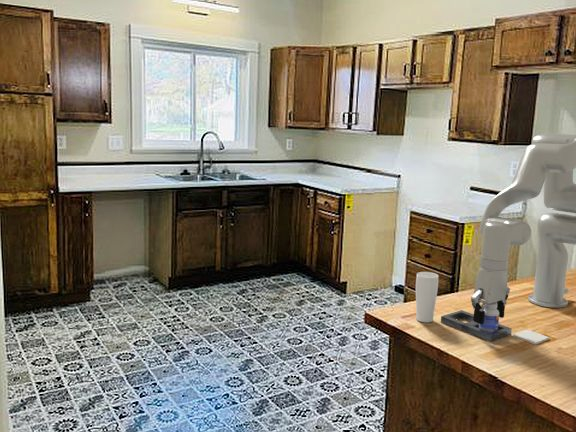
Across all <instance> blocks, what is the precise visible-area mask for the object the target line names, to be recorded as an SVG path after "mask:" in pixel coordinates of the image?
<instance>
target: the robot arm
mask: <svg viewBox="0 0 576 432" xmlns="http://www.w3.org/2000/svg"><path fill="white" fill-rule="evenodd" d="M575 169H576V134H563V133H540V134H537V135H535V136H533V138H532V140H531V144H529V145H527V147H525V150H524V151H523V154H522V156H521V158H520V162H519V163H518V166H517V169H516V172H515V174H514V175H513V176H514V177H513V179H512V181H511V184H510V185H509V186H508V187H506V188H504V189H503V190H501V191H500V192H498V194H497V195H495V196H494V197H493V198H492V199H491V200H490V201H489V203H487V205H486V207H485V210H484V212H483V216H482V218H481V221H480V225H479V233H480V236H481V237H482V240H481V242H482V243H481V252H480V253H481V254H480V262H479V268H478V270H477V274H476V279H475V283H474V289H473V294H472V295H471V296H470V297H471V298H470V300H471V305H472V308H473V314H474V319H473V321H474V322H477V323H479V324H484V316H485V311H483V310H484V308H485V307H486V305H487V304H490V303H494V302H497V308H496V309H497V310H498V311H499V319H500V318H501V319H503V318H505V308H506V305H507V300H508V298H509V294H510V291H511V287H510V288H509V287H508V267H509V257H510V247H511V246H513V247H515V246H517V247H518V246H522V245H525V244H526V243H527V242H528V241H530V238H531V236H532V229H531V226H530V225H529V223H527V222H526V221H523V220H520V219H515V218H508V217H501V216H500V215H501V213H502V212H503V211H505V209H506V208H508V207H510V206H512V205H514V204H517V203H521V202H525V201H529V200H533V199H535V198H537V197H538V196H539V195H540V194H541V192H542V188H543V204H544V206H545V208H547V209H549V210H552V211H559V212H562V213H558V212H547V213H544V214H542V215H541V216H540V217H539V219H538V221H537V237H538V238H537V239H538V245H537V246H538V249H537V257H536V265H535V268H536V269H535V277H534V287H533V293H531V294H529V295H528V298H527V300H528V301H529V302H530V303H532V304H534V305H537V306H541V307H545V308H550V309H551V308H553V309H559V308H560V309H561V308H566V307H567V306H568V304H569V301H568V300H567V299H566V298H565V294H568V293H569V288H567V287H566V280H567V278H566V277H567V270H568V261H569V253H568V250H567V247H566V246H565V244H570V245H573V246H574V245H575V246H576V215H570V214H576V183H574V170H575ZM563 212H565V214H564V213H563ZM566 213H570V214H566Z"/></svg>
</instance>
